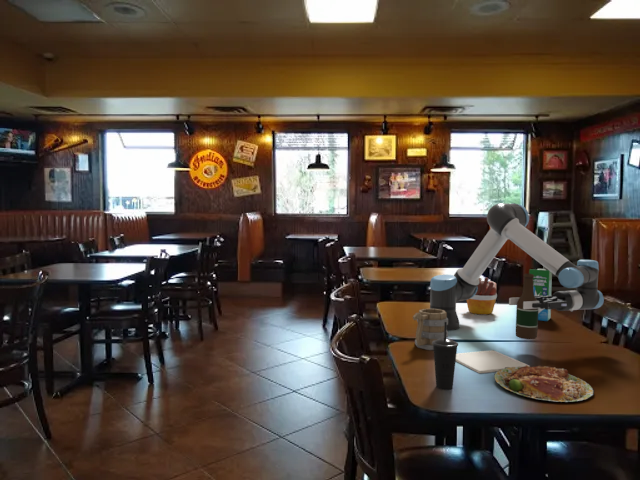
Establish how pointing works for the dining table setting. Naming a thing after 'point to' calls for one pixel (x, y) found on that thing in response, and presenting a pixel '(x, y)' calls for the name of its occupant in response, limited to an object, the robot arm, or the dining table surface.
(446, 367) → the drinking cup
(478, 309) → the bucket of meat
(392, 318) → the dining table surface
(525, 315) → the beer bottle
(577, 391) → the rice dish
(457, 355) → the square board
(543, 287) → the milk carton
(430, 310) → the tankard
